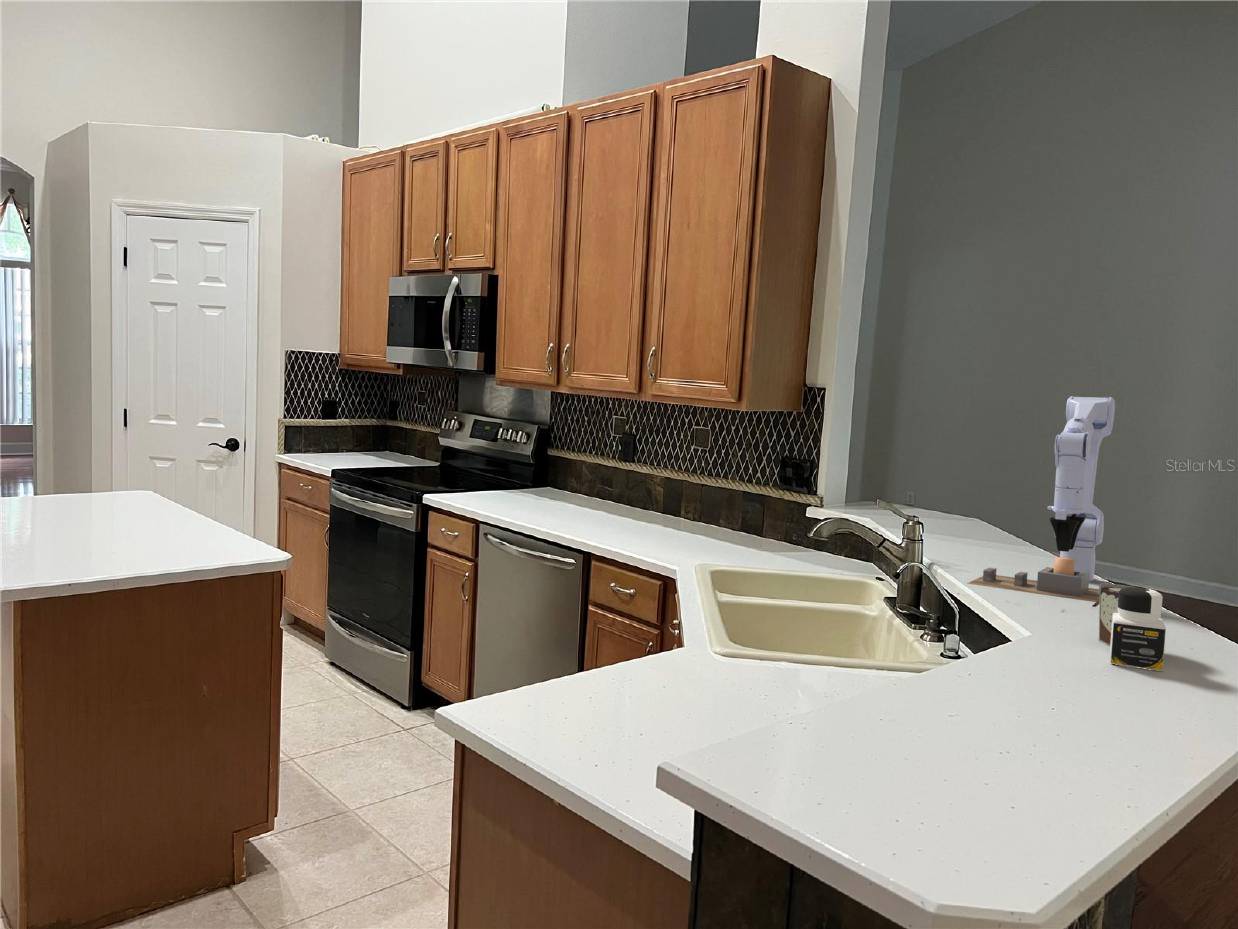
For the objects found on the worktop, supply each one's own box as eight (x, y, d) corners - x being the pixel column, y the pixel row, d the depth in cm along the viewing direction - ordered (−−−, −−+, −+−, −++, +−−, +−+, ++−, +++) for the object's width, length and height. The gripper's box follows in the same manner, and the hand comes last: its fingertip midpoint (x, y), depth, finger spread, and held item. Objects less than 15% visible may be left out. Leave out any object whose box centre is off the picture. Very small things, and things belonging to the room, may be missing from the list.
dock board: (987, 578, 215) (988, 563, 215) (1109, 595, 200) (1111, 579, 199) (966, 587, 203) (967, 572, 202) (1096, 606, 187) (1097, 590, 187)
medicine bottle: (1110, 665, 143) (1115, 590, 143) (1109, 654, 150) (1114, 582, 149) (1162, 672, 140) (1168, 596, 139) (1159, 661, 146) (1165, 588, 146)
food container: (1170, 659, 148) (1175, 599, 147) (1132, 658, 148) (1137, 597, 147) (1129, 639, 160) (1133, 583, 159) (1094, 638, 160) (1098, 582, 160)
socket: (1045, 584, 204) (1047, 567, 204) (1088, 590, 199) (1089, 572, 198) (1036, 590, 197) (1037, 572, 197) (1080, 596, 192) (1081, 577, 192)
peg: (1054, 587, 201) (1056, 556, 200) (1074, 590, 198) (1076, 558, 198) (1050, 590, 198) (1052, 558, 197) (1070, 593, 195) (1072, 561, 195)
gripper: (1057, 484, 205) (1053, 544, 206) (1041, 488, 193) (1037, 551, 194) (1091, 487, 200) (1087, 548, 201) (1078, 491, 189) (1073, 555, 190)
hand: (1065, 550), depth 197 cm, fingers open, 4 cm apart
